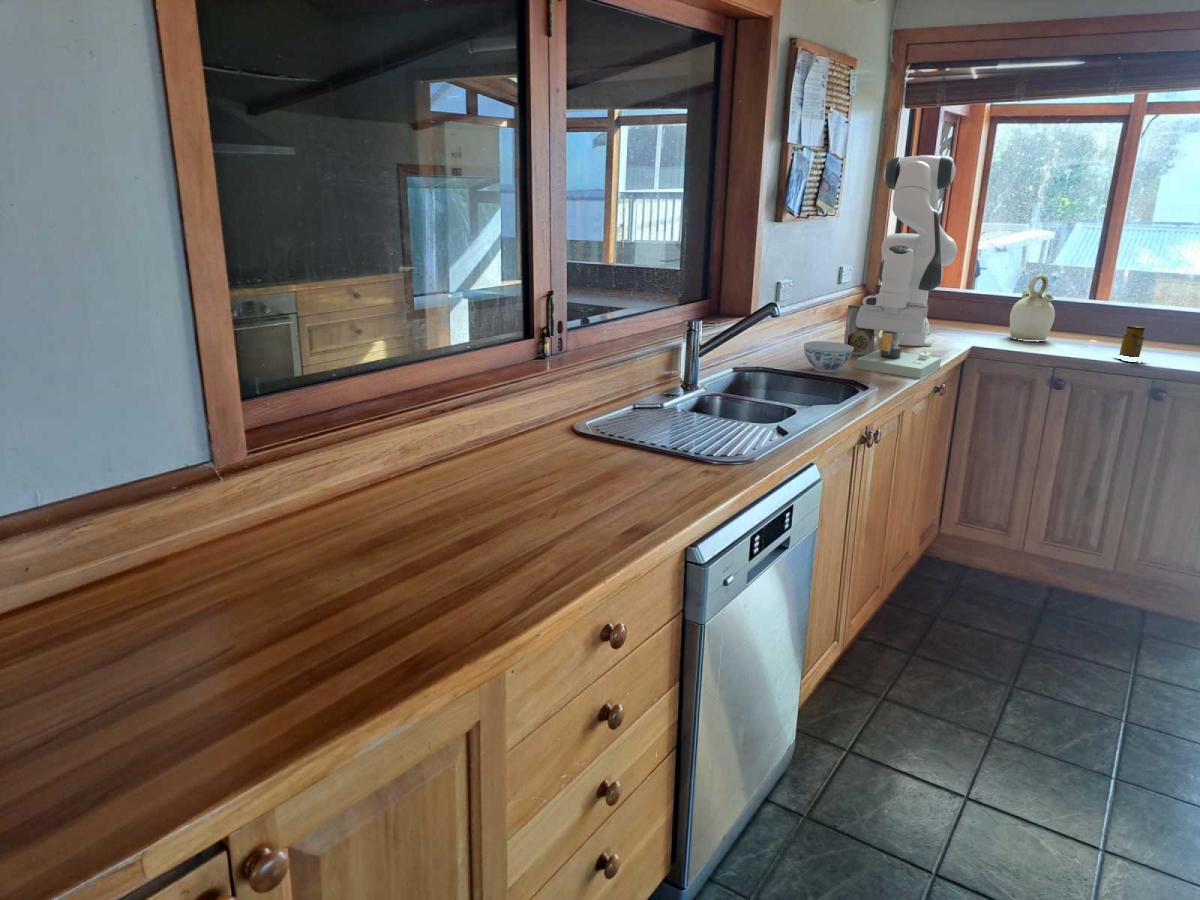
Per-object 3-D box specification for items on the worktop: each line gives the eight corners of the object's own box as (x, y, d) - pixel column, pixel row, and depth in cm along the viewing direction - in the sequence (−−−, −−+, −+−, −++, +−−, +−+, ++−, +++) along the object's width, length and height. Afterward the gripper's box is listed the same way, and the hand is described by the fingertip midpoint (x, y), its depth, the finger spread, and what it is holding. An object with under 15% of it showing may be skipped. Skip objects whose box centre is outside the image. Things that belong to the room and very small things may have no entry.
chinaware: (848, 378, 255) (851, 352, 252) (797, 372, 260) (800, 347, 257) (852, 368, 268) (855, 344, 266) (804, 363, 273) (807, 339, 271)
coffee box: (868, 352, 294) (875, 305, 289) (872, 356, 288) (879, 308, 283) (842, 351, 295) (847, 304, 290) (845, 354, 289) (851, 307, 284)
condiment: (1131, 358, 301) (1139, 325, 298) (1147, 363, 293) (1155, 329, 290) (1111, 358, 301) (1119, 324, 297) (1126, 363, 293) (1134, 328, 289)
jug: (1057, 344, 324) (1070, 277, 316) (1016, 342, 324) (1029, 276, 316) (1038, 336, 339) (1050, 273, 331) (999, 335, 339) (1010, 271, 331)
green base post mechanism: (878, 357, 286) (885, 307, 280) (939, 367, 275) (948, 314, 270) (855, 368, 268) (862, 314, 263) (920, 378, 258) (929, 322, 252)
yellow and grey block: (883, 353, 276) (887, 329, 274) (902, 356, 273) (906, 331, 271) (872, 359, 267) (876, 333, 265) (892, 361, 264) (895, 336, 261)
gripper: (930, 303, 259) (923, 348, 263) (862, 296, 268) (856, 339, 273) (926, 305, 254) (919, 351, 258) (857, 298, 263) (851, 342, 267)
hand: (886, 345), depth 265 cm, fingers open, 3 cm apart
